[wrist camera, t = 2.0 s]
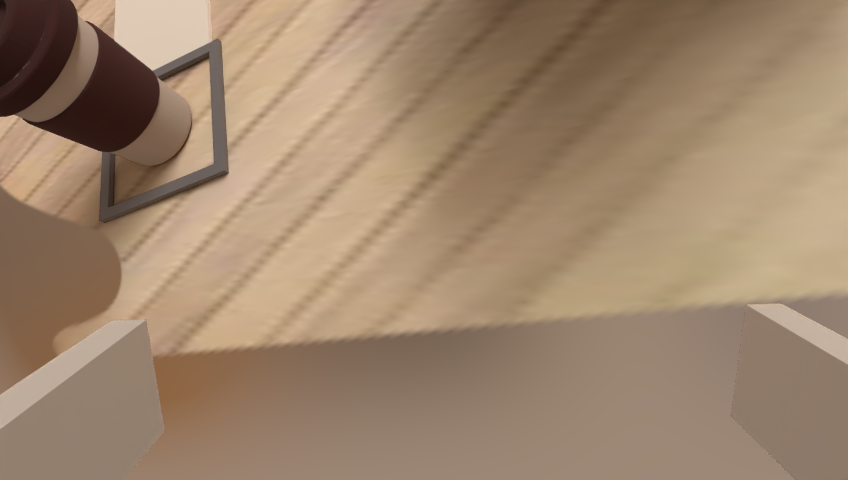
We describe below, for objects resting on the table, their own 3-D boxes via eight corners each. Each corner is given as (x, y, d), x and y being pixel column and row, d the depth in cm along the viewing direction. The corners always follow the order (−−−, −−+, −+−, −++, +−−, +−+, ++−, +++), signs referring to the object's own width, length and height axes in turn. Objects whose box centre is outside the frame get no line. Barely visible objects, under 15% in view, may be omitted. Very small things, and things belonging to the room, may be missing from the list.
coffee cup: (118, 117, 50) (-68, 15, 37) (196, 65, 48) (30, -63, 35) (129, 200, 46) (-74, 120, 33) (215, 147, 44) (35, 40, 31)
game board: (116, -77, 60) (112, -80, 60) (211, -135, 57) (207, -139, 56) (104, 222, 47) (99, 221, 46) (228, 172, 43) (224, 170, 42)
